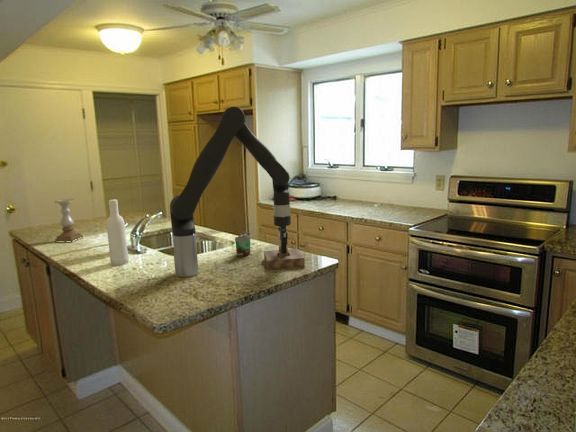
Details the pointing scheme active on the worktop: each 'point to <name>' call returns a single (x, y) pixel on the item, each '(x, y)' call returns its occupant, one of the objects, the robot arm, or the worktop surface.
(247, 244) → the food container
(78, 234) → the candle holder
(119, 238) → the bottle
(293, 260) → the socket block
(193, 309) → the worktop surface
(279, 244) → the dowel
